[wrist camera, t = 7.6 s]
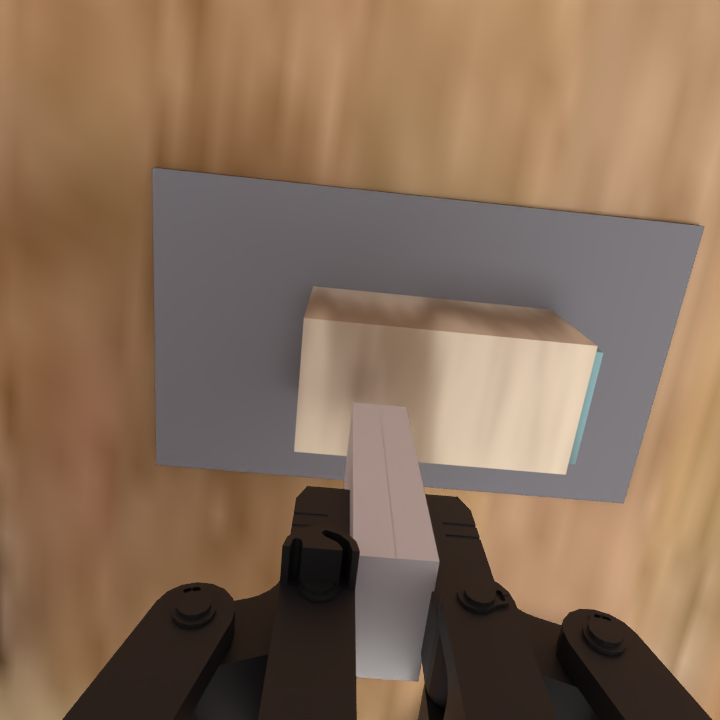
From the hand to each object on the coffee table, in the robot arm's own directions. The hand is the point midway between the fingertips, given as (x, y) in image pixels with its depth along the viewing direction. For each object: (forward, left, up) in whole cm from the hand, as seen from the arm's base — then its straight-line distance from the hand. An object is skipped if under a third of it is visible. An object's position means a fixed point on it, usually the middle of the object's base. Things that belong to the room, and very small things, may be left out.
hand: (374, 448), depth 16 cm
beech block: (-3, 0, -7) cm, 7 cm away
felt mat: (+2, 0, -9) cm, 10 cm away
